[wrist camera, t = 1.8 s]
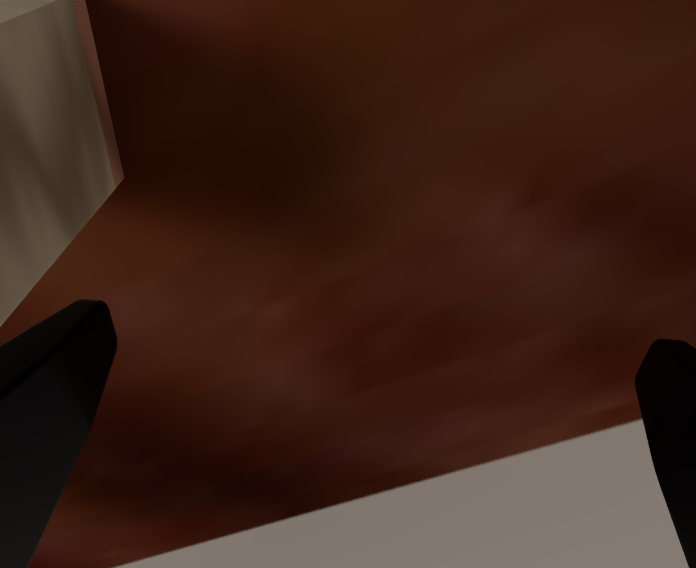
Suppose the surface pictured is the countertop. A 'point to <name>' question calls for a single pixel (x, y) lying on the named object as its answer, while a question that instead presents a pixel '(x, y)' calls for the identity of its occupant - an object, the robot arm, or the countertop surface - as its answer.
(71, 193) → the birch block
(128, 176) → the countertop surface
